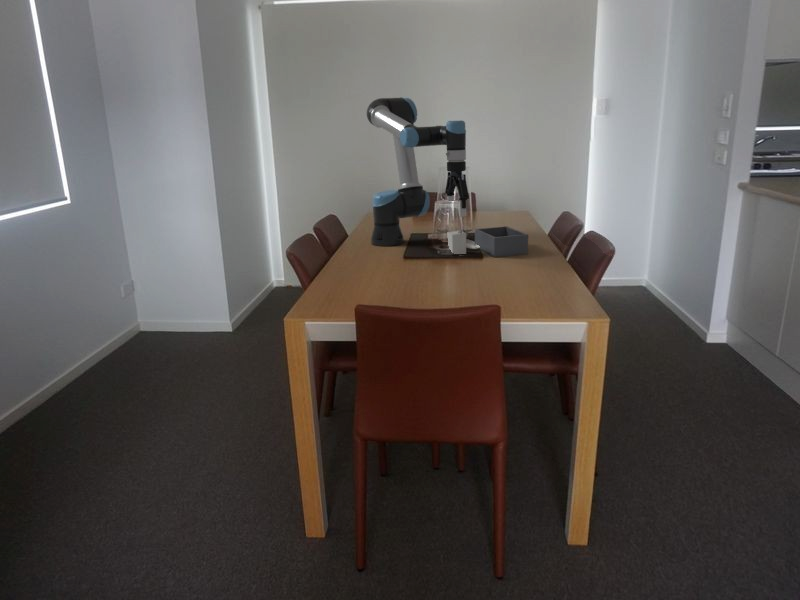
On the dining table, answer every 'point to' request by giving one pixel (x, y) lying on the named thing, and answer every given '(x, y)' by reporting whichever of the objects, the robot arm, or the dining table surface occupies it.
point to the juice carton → (457, 242)
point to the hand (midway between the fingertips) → (456, 214)
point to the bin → (501, 241)
